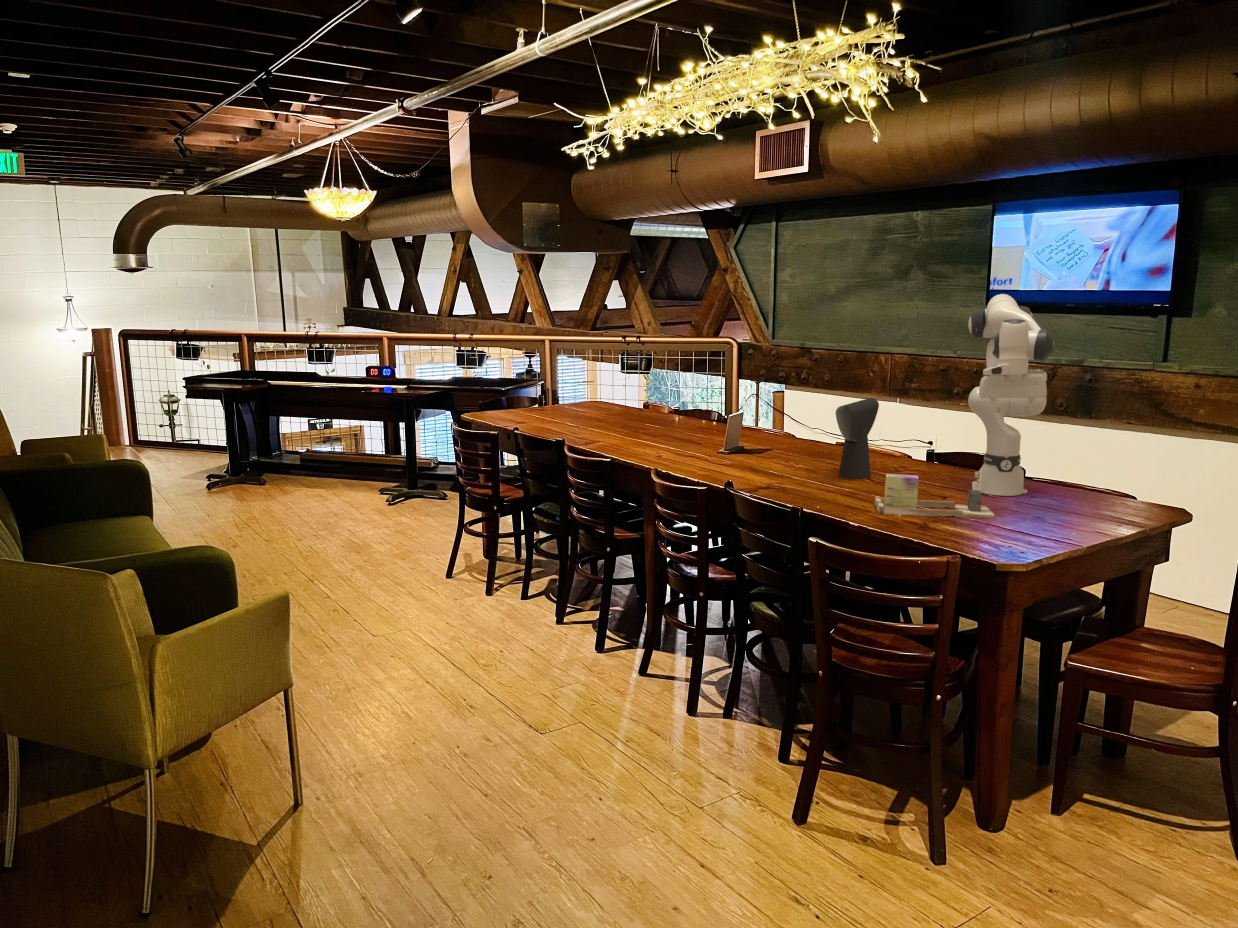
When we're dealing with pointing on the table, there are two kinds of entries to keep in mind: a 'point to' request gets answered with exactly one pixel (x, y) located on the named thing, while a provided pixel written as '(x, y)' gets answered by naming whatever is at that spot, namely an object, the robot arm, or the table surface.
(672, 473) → the table surface
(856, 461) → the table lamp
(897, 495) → the box
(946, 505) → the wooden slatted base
